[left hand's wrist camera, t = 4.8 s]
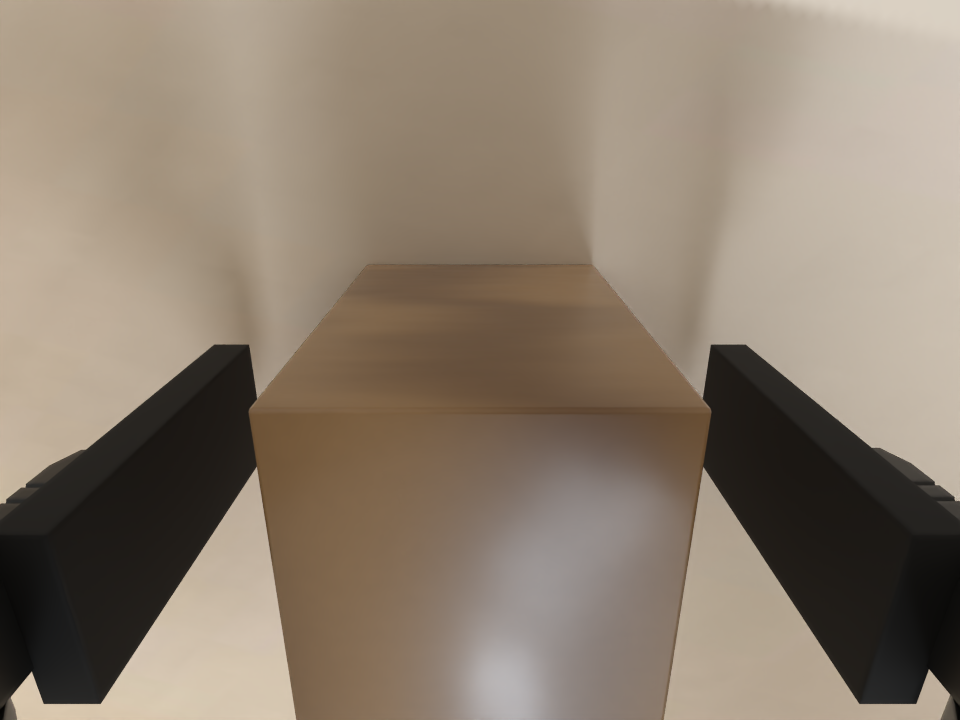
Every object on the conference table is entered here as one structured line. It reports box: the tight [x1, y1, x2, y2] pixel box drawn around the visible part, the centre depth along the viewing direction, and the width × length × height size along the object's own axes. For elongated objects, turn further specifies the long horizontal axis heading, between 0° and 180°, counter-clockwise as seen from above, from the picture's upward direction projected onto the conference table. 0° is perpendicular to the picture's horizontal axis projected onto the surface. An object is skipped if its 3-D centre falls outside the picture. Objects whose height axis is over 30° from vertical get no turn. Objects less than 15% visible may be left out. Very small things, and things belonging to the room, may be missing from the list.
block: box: [249, 265, 711, 720], centre depth 11 cm, size 5×6×8 cm
